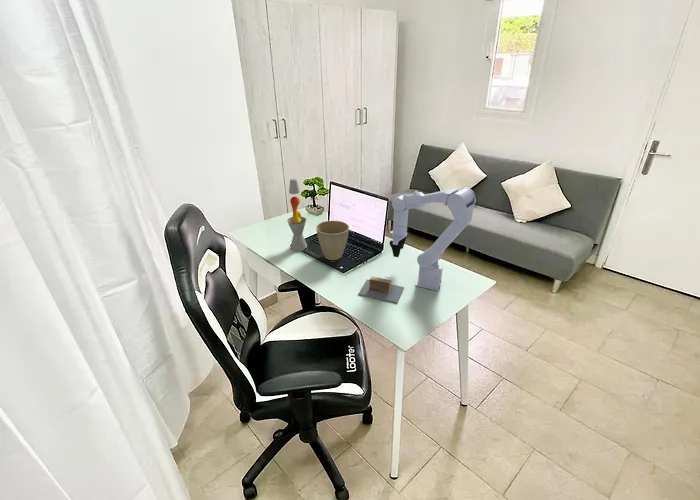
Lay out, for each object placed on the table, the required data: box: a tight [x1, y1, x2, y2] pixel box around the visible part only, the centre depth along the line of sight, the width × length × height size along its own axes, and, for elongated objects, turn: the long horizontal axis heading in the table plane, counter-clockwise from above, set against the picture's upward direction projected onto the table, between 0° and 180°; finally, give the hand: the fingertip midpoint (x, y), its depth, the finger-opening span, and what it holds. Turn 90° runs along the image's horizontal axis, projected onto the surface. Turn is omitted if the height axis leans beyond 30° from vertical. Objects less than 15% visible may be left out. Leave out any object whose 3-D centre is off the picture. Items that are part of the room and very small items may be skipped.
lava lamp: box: [287, 178, 308, 253], centre depth 169 cm, size 9×9×35 cm
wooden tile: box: [369, 275, 392, 294], centre depth 143 cm, size 2×8×5 cm, turn 69°
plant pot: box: [315, 220, 350, 261], centre depth 164 cm, size 15×15×16 cm
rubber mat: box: [358, 279, 405, 304], centre depth 144 cm, size 16×11×1 cm
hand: (398, 252), depth 153 cm, fingers open, 7 cm apart
